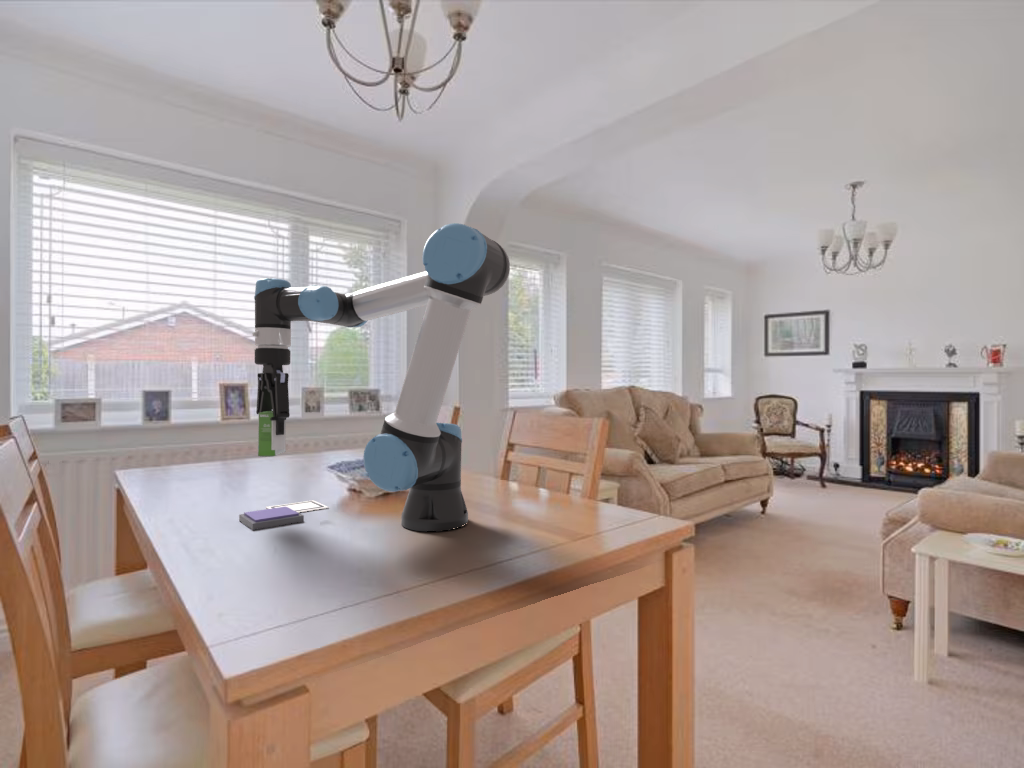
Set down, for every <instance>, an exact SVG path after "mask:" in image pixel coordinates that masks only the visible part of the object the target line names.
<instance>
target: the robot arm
mask: <svg viewBox="0 0 1024 768" xmlns="http://www.w3.org/2000/svg"><path fill="white" fill-rule="evenodd" d="M422 250H423V251H422V264H423V265H424V270H423V271H421V272H417V273H413V274H410V275H406V276H404V277H400V278H396V279H393V280H390V281H386V282H383V283H379V284H376V285H372V286H369V287H365V288H362V289H358V290H355V291H351V292H347V293H339V292H335V291H334V290H333V289H332V288H331V287H329V286H326V285H316V284H315V285H309V286H296V287H292V285H291V284H292V283H291V282H290V281H288V280H286V279H282V278H273V277H272V278H271V277H270V278H267V277H266V278H265V277H264V278H259V279H258V280H256V283H255V290H254V291H255V292H254V296H253V299H254V331H253V332H252V336H253V337H254V345H255V346H257V347H256V348H255V349H254V364H255V365H258V366H261V365H262V366H263V367H262V372H258V373H257V396H256V411H255V412H256V414H257V415H259V413H260V412H266V411H273V417H271V418H270V420H271V421H272V444H271V450H280V449H285V424H286V421H287V418H290V400H289V398H290V397H289V377H290V375H289V372H284V369H283V366H289V365H290V364H291V350H290V349H289V347H291V345H292V328H291V327H292V326H291V325H292V324H291V323H292V322H313V323H321V324H322V323H323V324H329V325H335V326H341V327H345V328H360V327H363V326H364V325H365V324H366V323H367V322H368V321H372V320H375V319H379V318H384V317H387V316H391V315H395V314H399V313H403V312H406V311H410V310H415V309H419V308H422V307H425V311H424V314H423V318H422V321H421V324H420V327H419V330H418V334H417V337H416V340H415V344H414V346H413V351H412V354H411V358H410V361H409V364H408V367H407V371H406V374H405V377H404V381H403V384H402V387H401V392H400V393H399V397H398V401H397V404H396V408H395V410H394V412H392V413H389V414H388V415H386V416H385V419H384V422H383V425H382V428H381V431H380V433H378V434H376V435H375V436H374V437H373V438H371V439H370V440H369V441H368V442H367V444H366V446H365V447H364V451H363V459H362V460H363V466H364V469H365V472H366V473H367V475H368V478H369V479H370V481H371V482H372V483H373V484H374V485H375V486H376V487H377V488H379V489H381V490H383V491H386V492H390V493H391V492H399V491H400V492H401V491H407V490H409V491H408V494H407V496H406V499H405V502H404V503H405V504H404V505H403V509H402V512H401V518H400V519H401V522H400V523H401V526H402V527H403V528H405V529H408V530H411V531H417V532H427V531H436V532H442V531H441V530H448V531H450V530H449V529H453V528H457V527H460V526H462V525H464V524H466V523H467V522H468V523H469V511H468V508H467V505H466V502H465V499H464V495H463V491H462V484H461V483H462V443H463V438H462V429H461V427H460V426H459V425H458V424H455V423H445V422H437V421H438V418H439V416H440V412H441V408H442V405H443V402H444V398H445V395H446V392H447V389H448V386H449V382H450V380H451V376H452V373H453V370H454V366H455V363H456V360H457V357H458V354H459V350H460V347H461V344H462V341H463V338H464V335H465V332H466V329H467V328H466V327H467V325H468V321H469V319H470V315H471V312H472V311H473V310H474V309H477V308H479V307H480V306H481V305H482V301H483V299H484V297H485V296H490V295H492V294H495V293H496V292H498V291H500V289H501V288H503V287H504V286H505V284H506V282H507V280H508V278H509V275H510V269H511V268H510V266H511V265H510V260H509V256H508V254H507V252H506V250H505V248H503V247H502V246H501V245H500V244H499V243H498V242H496V241H495V240H493V239H491V238H490V237H488V236H487V235H485V234H483V233H482V232H481V231H479V230H478V229H476V228H474V227H471V226H469V225H466V224H463V223H449V224H448V223H447V224H444V225H443V226H441V227H440V228H437V229H436V230H434V232H433V233H432V234H430V235H429V236H428V239H427V240H426V242H425V245H424V247H423V249H422Z"/></svg>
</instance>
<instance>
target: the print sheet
mask: <svg viewBox="0 0 1024 768" xmlns="http://www.w3.org/2000/svg"><path fill="white" fill-rule="evenodd" d="M279 507H288V508H290V509H292V510H294V511H296V512H298V513H300V512H302V513H307V511H309V512H314V511H313V510H315V511H320V510H319V509H322V510H326V508H328V509H329V508H330V507H329V506H327V505H326V504H322V503H320V502H319V501H316V500H313V499H312V500H306V501H299V502H292V503H284V504H279V505H270V506H265V509H272V508H279ZM300 514H301V513H300Z"/></svg>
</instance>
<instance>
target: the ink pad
mask: <svg viewBox="0 0 1024 768" xmlns="http://www.w3.org/2000/svg"><path fill="white" fill-rule="evenodd" d="M238 518H239V519H238V520H239V522H240V521H241V522H240V523H242V524H243V523H244V524H243V525H245V526H246V527H247V526H248V527H247V528H249V529H250V528H251V529H250V530H252V531H255V529H257V530H261V529H262V530H263V529H267V528H268V529H269V528H274V527H279V525H280V526H285V524H286V525H291V523H292V524H298V523H303V521H304V520H305V519H304V518H305V515H304V514H301V513H298V512H296V511H294V510H292V509H290V508H288V507H279V508H272V509H267V508H265V509H259V510H258V509H257V510H253V511H252V510H251V511H246V512H243V513H240V514H239V515H238ZM297 522H298V523H297ZM304 522H305V521H304Z"/></svg>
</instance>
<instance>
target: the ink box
mask: <svg viewBox="0 0 1024 768" xmlns="http://www.w3.org/2000/svg"><path fill="white" fill-rule="evenodd" d="M257 416H258V417H257V418H258V428H257V429H258V431H257V436H258V437H257V456H258V457H264V458H266V457H277V456H279V455H281V454H283V453H286V450H287V448H286V447H287V446H286V441H287V439H286V436H287V435H286V432H287V431H286V429H287V428H286V423H285V449H280V450H271V444H272V421H271V420H270V418H271V417H273V411H266V412H260V413H259V414H258V415H257Z"/></svg>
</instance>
